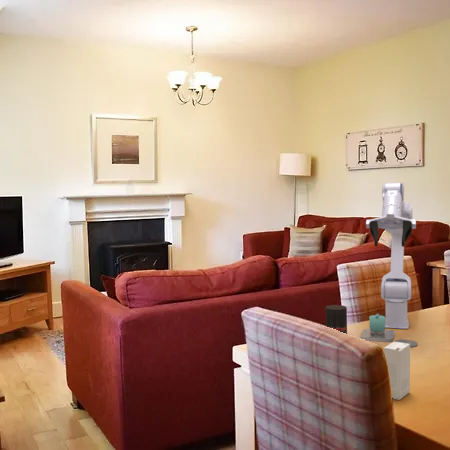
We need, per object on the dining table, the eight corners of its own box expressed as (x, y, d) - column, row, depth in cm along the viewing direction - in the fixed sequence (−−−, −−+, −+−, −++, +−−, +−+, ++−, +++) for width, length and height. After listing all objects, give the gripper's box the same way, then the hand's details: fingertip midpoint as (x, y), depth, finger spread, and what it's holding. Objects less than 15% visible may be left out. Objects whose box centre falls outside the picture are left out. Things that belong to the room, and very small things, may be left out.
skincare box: (393, 388, 134) (392, 340, 133) (411, 392, 131) (410, 343, 130) (382, 396, 129) (382, 346, 128) (400, 401, 127) (400, 350, 126)
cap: (370, 326, 181) (370, 313, 181) (386, 327, 179) (385, 313, 179) (368, 330, 177) (368, 316, 176) (384, 331, 175) (384, 317, 174)
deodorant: (347, 362, 155) (346, 309, 153) (326, 361, 156) (325, 309, 155) (347, 355, 160) (346, 305, 159) (326, 354, 162) (325, 304, 160)
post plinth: (363, 331, 185) (363, 324, 184) (394, 333, 181) (394, 326, 181) (359, 339, 175) (359, 332, 175) (392, 342, 172) (392, 334, 172)
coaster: (394, 340, 174) (394, 338, 174) (417, 341, 171) (417, 340, 171) (393, 346, 167) (393, 345, 167) (417, 348, 165) (417, 347, 165)
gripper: (366, 202, 171) (363, 234, 162) (415, 202, 166) (414, 235, 157) (368, 218, 176) (365, 250, 167) (416, 218, 170) (415, 251, 162)
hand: (389, 244), depth 162 cm, fingers open, 7 cm apart
